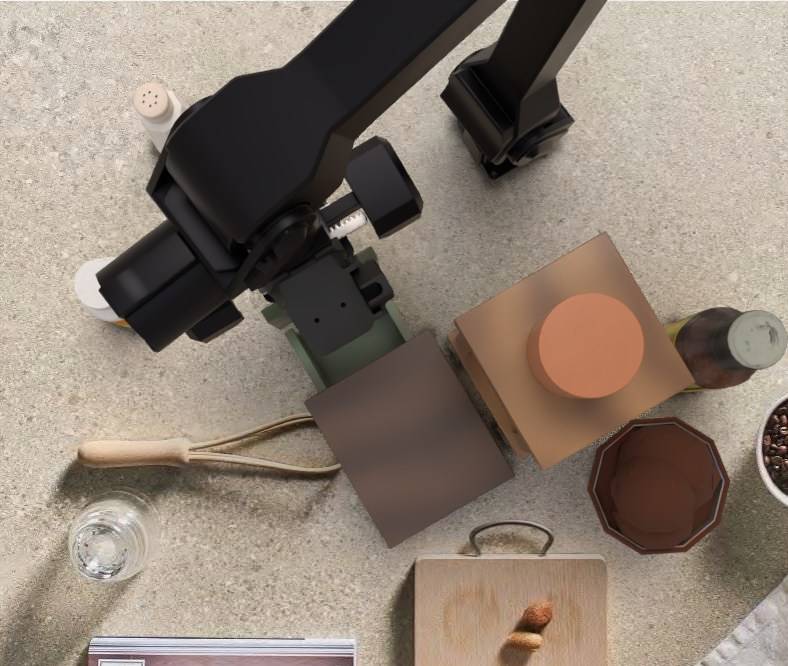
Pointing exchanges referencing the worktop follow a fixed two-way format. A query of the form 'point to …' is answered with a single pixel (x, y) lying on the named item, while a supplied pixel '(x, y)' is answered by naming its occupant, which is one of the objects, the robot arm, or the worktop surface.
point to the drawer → (352, 355)
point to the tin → (586, 347)
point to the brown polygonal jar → (658, 485)
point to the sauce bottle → (727, 345)
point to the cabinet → (409, 438)
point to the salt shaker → (158, 111)
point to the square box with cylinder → (515, 379)
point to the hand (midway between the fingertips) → (303, 260)
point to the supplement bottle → (95, 291)
